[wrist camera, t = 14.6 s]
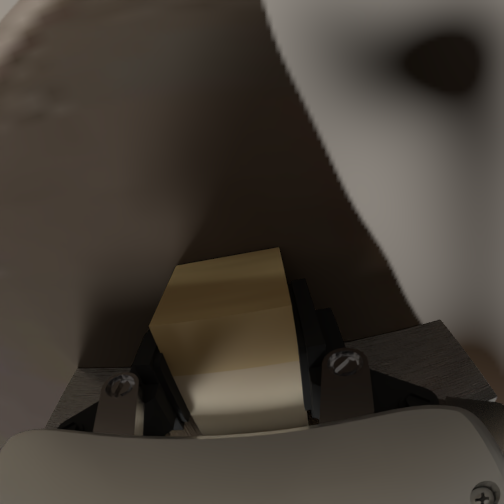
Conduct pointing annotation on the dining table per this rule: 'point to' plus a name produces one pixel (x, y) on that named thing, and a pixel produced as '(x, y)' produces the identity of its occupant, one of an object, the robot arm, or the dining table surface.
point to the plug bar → (233, 343)
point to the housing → (375, 348)
